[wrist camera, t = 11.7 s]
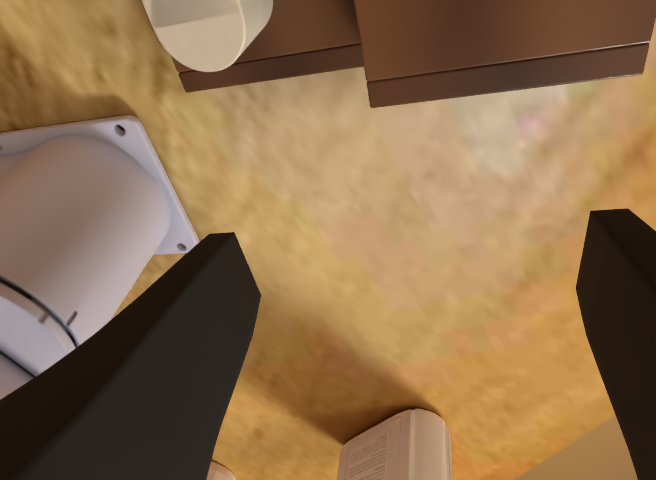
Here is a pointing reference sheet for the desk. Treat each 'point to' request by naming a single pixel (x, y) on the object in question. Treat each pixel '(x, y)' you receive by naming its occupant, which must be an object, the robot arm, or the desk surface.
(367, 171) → the desk surface
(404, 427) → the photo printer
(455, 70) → the stepped wooden block
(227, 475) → the coffee cup
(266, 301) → the desk surface
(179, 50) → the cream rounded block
